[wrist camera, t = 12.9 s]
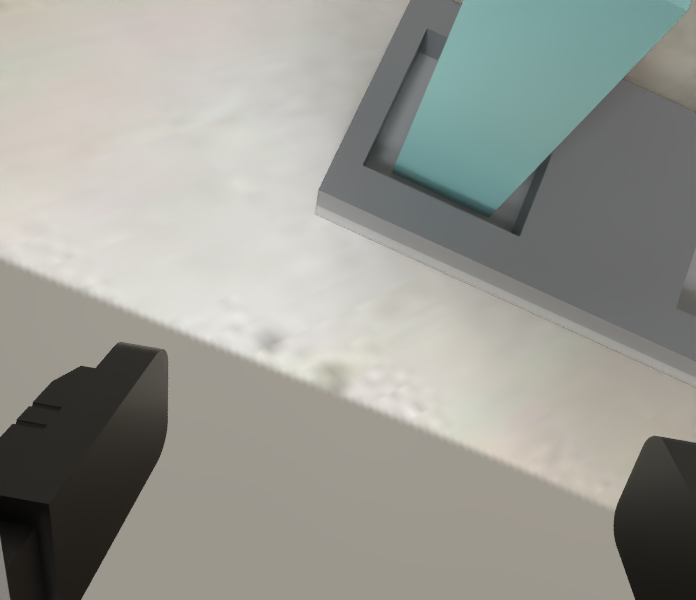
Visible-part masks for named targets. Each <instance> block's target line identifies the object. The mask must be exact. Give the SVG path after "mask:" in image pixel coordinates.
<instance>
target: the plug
mask: <svg viewBox="0 0 696 600" xmlns="http://www.w3.org/2000/svg"><path fill="white" fill-rule="evenodd" d="M691 1H692V0H463V3H462V5H461V8H460V10H459V12H458V15H457V17H456V20H455V22H454V24H453V27H452V29H451V32H450V34H449V36H448V39H447V41H446V44H445V46H444V48H443V51H442V53H441V56H440V58H439V60H438V63H437V65H436V68H435V70H434V72H433V75H432V77H431V80H430V82H429V84H428V87H427V89H426V92H425V94H424V96H423V99H422V101H421V104H420V106H419V108H418V111H417V113H416V116H415V118H414V120H413V123H412V125H411V128H410V130H409V133H408V135H407V137H406V140H405V142H404V145H403V147H402V149H401V152H400V154H399V157H398V159H397V161H396V164H395V166H394V169H393V171H392V172H393V173H395V174H397V175H399V176H401V177H403V178H406V179H408V180H410V181H412V182H414V183H416V184H418V185H420V186H423V187H425V188H427V189H429V190H431V191H433V192H435V193H438V194H440V195H442V196H444V197H446V198H448V199H450V200H452V201H455V202H457V203H459V204H461V205H463V206H465V207H467V208H469V209H472V210H474V211H476V212H478V213H480V214H482V215H484V216H487V217H490V216H491V215H492V214H493V213H494V212H495V211H496V210H497V209H498V208H499V207H500V206H501V205H502V203H503V202H504V201H505V200H506V199H507V198H508V197H509V196H510V195H511V194H512V193H513V192H514V191H515V190H516V189H517V188H518V187H519V186H520V185H521V184H522V183H523V182H524V181H525V180H526V178H527V177H528V176H529V175H530V174H531V173H532V172H533V171H534V170H535V169H536V168H537V167H538V166H539V165H540V164H541V163H542V162H543V161H544V160H545V159H546V158H547V157H548V156H549V155H550V154H551V152H552V151H553V150H554V149H555V148H556V147H557V146H558V145H559V144H560V143H561V142H562V141H563V140H564V139H565V138H566V137H567V136H568V135H569V134H570V133H571V132H572V131H573V130H574V129H575V127H576V126H577V125H578V124H579V123H580V122H581V121H582V120H583V119H584V118H585V117H586V116H587V115H588V114H589V113H590V112H591V111H592V110H593V109H594V108H595V107H596V106H597V105H598V104H599V103H600V101H601V100H602V99H603V98H604V97H605V96H606V95H607V94H608V93H609V92H610V91H611V90H612V89H613V88H614V87H615V86H616V85H617V84H618V83H619V82H620V81H621V80H622V79H623V78H624V77H625V75H626V74H627V73H628V72H629V71H630V70H631V69H632V68H633V67H634V66H635V65H636V64H637V63H638V62H639V61H640V60H641V59H642V58H643V57H644V56H645V55H646V54H647V53H648V52H649V50H650V49H651V48H652V47H653V46H654V45H655V44H656V43H657V42H658V41H659V40H660V39H661V38H662V37H663V36H664V35H665V34H666V33H667V32H668V31H669V30H670V29H671V28H672V27H673V26H674V24H675V23H676V22H677V21H678V20H679V19H680V18H681V17H682V16H683V15H684V14H685V13H686V12H687V11H688V9H689V6H690V3H691Z"/></svg>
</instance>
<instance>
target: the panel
mask: <svg viewBox="0 0 696 600" xmlns="http://www.w3.org/2000/svg"><path fill="white" fill-rule="evenodd" d="M460 8H461V5H460V4H458V3H456V2H454V1H451V0H410V2H409V4H408V6H407V9H406V11H405V13H404V15H403V17H402V19H401V21H400V23H399V25H398V27H397V29H396V31H395V33H394V35H393V37H392V39H391V42H390V44H389V46H388V48H387V50H386V52H385V54H384V56H383V58H382V60H381V62H380V64H379V66H378V68H377V70H376V72H375V74H374V77H373V79H372V81H371V83H370V85H369V87H368V89H367V91H366V93H365V95H364V97H363V99H362V101H361V103H360V105H359V107H358V110H357V112H356V114H355V116H354V118H353V120H352V122H351V124H350V126H349V128H348V130H347V132H346V134H345V136H344V138H343V140H342V143H341V145H340V147H339V149H338V151H337V153H336V155H335V157H334V159H333V161H332V163H331V165H330V167H329V169H328V171H327V173H326V176H325V178H324V180H323V182H322V184H321V186H320V188H319V190H318V197H317V204H316V211H315V214H316V215H318V216H320V217H322V218H324V219H327V220H329V221H331V222H333V223H335V224H338V225H340V226H342V227H344V228H346V229H349V230H351V231H353V232H355V233H357V234H360V235H362V236H364V237H366V238H368V239H371V240H373V241H375V242H377V243H379V244H382V245H384V246H386V247H388V248H390V249H393V250H395V251H397V252H399V253H401V254H404V255H406V256H408V257H410V258H412V259H415V260H417V261H419V262H421V263H423V264H426V265H428V266H430V267H432V268H434V269H437V270H439V271H441V272H443V273H445V274H448V275H450V276H452V277H454V278H456V279H459V280H461V281H463V282H465V283H467V284H470V285H472V286H474V287H476V288H478V289H481V290H483V291H485V292H487V293H489V294H492V295H494V296H496V297H498V298H500V299H503V300H505V301H507V302H509V303H511V304H514V305H516V306H518V307H520V308H522V309H525V310H527V311H529V312H531V313H533V314H536V315H538V316H540V317H542V318H544V319H547V320H549V321H551V322H553V323H555V324H558V325H560V326H562V327H564V328H566V329H569V330H571V331H573V332H575V333H577V334H580V335H582V336H584V337H586V338H588V339H591V340H593V341H595V342H597V343H599V344H602V345H604V346H606V347H608V348H610V349H613V350H615V351H617V352H619V353H621V354H624V355H626V356H628V357H630V358H632V359H635V360H637V361H639V362H641V363H643V364H646V365H648V366H650V367H652V368H654V369H657V370H659V371H661V372H663V373H665V374H668V375H670V376H672V377H674V378H676V379H679V380H681V381H683V382H685V383H687V384H690V385H692V386H694V387H696V112H694V111H692V110H690V109H687V108H685V107H683V106H681V105H679V104H677V103H674V102H672V101H670V100H668V99H666V98H663V97H661V96H659V95H657V94H655V93H652V92H650V91H648V90H646V89H644V88H642V87H639V86H637V85H635V84H633V83H631V82H628V81H626V80H624V79H622V80H621V81H620V82H619V83H618V84H617V85H616V86H615V87H614V88H613V89H612V90H611V91H610V92H609V93H608V94H607V95H606V96H605V97H604V98H603V99H602V100H601V101H600V103H599V104H598V105H597V106H596V107H595V108H594V109H593V110H592V111H591V112H590V113H589V114H588V115H587V116H586V117H585V118H584V119H583V120H582V121H581V122H580V123H579V124H578V125H577V126H576V127H575V129H574V130H573V131H572V132H571V133H570V134H569V135H568V136H567V137H566V138H565V139H564V140H563V141H562V142H561V143H560V144H559V145H558V146H557V147H556V148H555V149H554V150H553V151H552V152H551V154H550V155H549V156H548V157H547V158H546V159H545V160H544V161H543V162H542V163H541V164H540V165H539V166H538V167H537V168H536V169H535V170H534V171H533V172H532V173H531V174H530V175H529V176H528V177H527V178H526V180H525V181H524V182H523V183H522V184H521V185H520V186H519V187H518V188H517V189H516V190H515V191H514V192H513V193H512V194H511V195H510V196H509V197H508V198H507V199H506V200H505V201H504V202H503V203H502V205H501V206H500V207H499V208H498V209H497V210H496V211H495V212H494V213H493V214H492V215H491V216H490V217H487V216H484V215H482V214H480V213H478V212H476V211H474V210H472V209H469V208H467V207H465V206H463V205H461V204H459V203H457V202H455V201H452V200H450V199H448V198H446V197H444V196H442V195H440V194H438V193H435V192H433V191H431V190H429V189H427V188H425V187H423V186H420V185H418V184H416V183H414V182H412V181H410V180H408V179H406V178H403V177H401V176H399V175H397V174H395V173H393V172H392V171H393V169H394V166H395V164H396V161H397V159H398V157H399V154H400V152H401V149H402V147H403V145H404V142H405V140H406V137H407V135H408V133H409V130H410V128H411V125H412V123H413V120H414V118H415V116H416V113H417V111H418V108H419V106H420V104H421V101H422V99H423V96H424V94H425V92H426V89H427V87H428V84H429V82H430V80H431V77H432V75H433V72H434V70H435V68H436V65H437V63H438V60H439V58H440V56H441V53H442V51H443V48H444V46H445V44H446V41H447V39H448V36H449V34H450V32H451V29H452V27H453V24H454V22H455V20H456V17H457V15H458V12H459V10H460Z"/></svg>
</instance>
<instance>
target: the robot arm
mask: <svg viewBox="0 0 696 600" xmlns="http://www.w3.org/2000/svg"><path fill="white" fill-rule="evenodd" d="M167 424H168V356H167V353H166V351H165V350H163V349H158V348H152V347H147V346H141V345H135V344H129V343H124V342H119V343H117V344H116V345H115V346H114V347H113V348H112V350H111V351H110V352H109V353H108V354H107V355H106V357H105V358H104V359H103V360H102V361H101V362H100V364H99V365H98V366H97V367H96V368H90V367H84V366H80V367H78V368H76V369H74V370H73V371H71V372H69V373H67V374H65V375H63V376H62V377H60V378H58V379H56V380H54V381H52V382H51V383H50V385H49V386H48V387H47V388H46V389H45V390H44V391H43V392H42V393H41V394H40V395H39V396H38V397H37V399H36V400H35V401H34V402H33V406H32V407H30V406H29V407H28V408H27V409H26V410H25V411H24V412H23V413H22V415H21V416H20V417H19V418H18V419H17V422H16V424H12V425H11V426H10V427H9V428H8V429H7V431H6V432H5V433H4V434H3V435H2V436H1V437H0V600H81V599H82V597H83V595H84V593H85V592H86V590H87V588H88V586H89V584H90V583H91V581H92V579H93V577H94V575H95V573H96V572H97V570H98V568H99V566H100V564H101V563H102V561H103V559H104V557H105V556H106V554H107V552H108V550H109V548H110V546H111V545H112V542H113V541H114V539H115V537H116V536H117V534H118V532H119V530H120V528H121V527H122V525H123V523H124V521H125V519H126V517H127V516H128V514H129V512H130V510H131V508H132V507H133V505H134V503H135V501H136V499H137V498H138V496H139V494H140V492H141V490H142V489H143V487H144V485H145V483H146V481H147V480H148V478H149V476H150V474H151V472H152V471H153V469H154V467H155V465H156V463H157V461H158V460H159V457H160V455H161V452H162V449H163V446H164V442H165V438H166V433H167ZM614 537H615V542H616V546H617V549H618V551H619V554H620V557H621V560H622V563H623V566H624V568H625V572H626V575H627V577H628V580H629V583H630V586H631V589H632V592H633V595H634V597H635V600H696V443H694V442H688V441H682V440H676V439H670V438H665V437H659V436H652V437H650V438H649V439H648V440H647V441H646V442H645V444H644V446H643V447H642V450H641V452H640V454H639V456H638V459H637V461H636V463H635V465H634V468H633V470H632V472H631V475H630V477H629V479H628V481H627V484H626V486H625V488H624V490H623V493H622V495H621V497H620V499H619V502H618V504H617V507H616V510H615V516H614Z"/></svg>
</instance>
